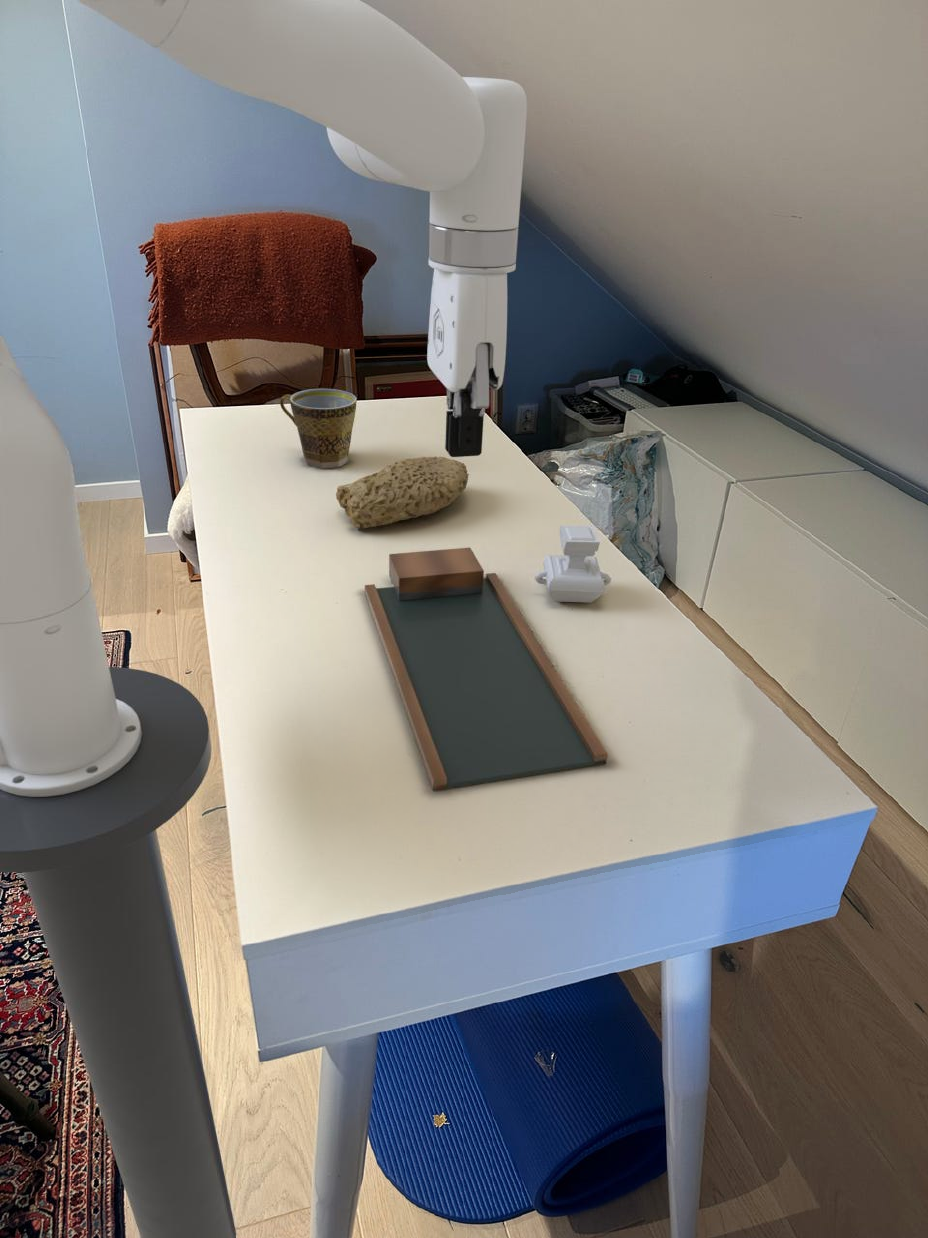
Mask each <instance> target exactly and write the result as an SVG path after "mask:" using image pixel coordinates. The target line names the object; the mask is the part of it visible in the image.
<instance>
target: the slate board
mask: <svg viewBox="0 0 928 1238" xmlns="http://www.w3.org/2000/svg"><path fill="white" fill-rule="evenodd" d="M376 587H377V586H376V585H375V583H373V584H365V585H364V596H365V599H366V601H367V604H368V608H369V610H370V613H371V616H372V619H373V621H374V625H375V627H376V630H377V633H378V637H379V640H380V642H381V645H382V648H383V650H384V653H385V656H386V659H387V663H388V665H389V667H390V671H391V673H392V676H393V679H394V682H395V685H396V688H397V691H398V693H399V697H400V699H401V702H402V706H403V708H404V711H405V714H406V716H407V720H408V722H409V725H410V728H411V731H412V734H413V737H414V740H415V743H416V746H417V748H418V752H419V755H420V757H421V760H422V763H423V766H424V769H425V771H426V772H425V773H426V775H427V777H428V781H429V783H430V786H431V789H432V791H433V792H434V791H435V792H436V791H442V790H448V789H454V788H460V787H467V786H473V785H478V784H479V785H480V784H485V783H492V782H499V781H504V780H511V779H519V778H524V777H530V776H537V775H543V774H549V773H557V772H562V771H569V770H575V769H582V768H589V767H592V766H593V767H595V766H600V765H606V764H607V760H608V751H606V749H605V747H604V745H603V744H602V742H601V741H600V739H599V737H598V735H597V734H596V733H595V731H594V729H593V728H592V726H591V725H590V723H589V721H588V719H587V717H586V716H585V715H584V713H583V711H582V710H581V709H580V707H579V705H578V704H577V702H576V701H575V699H574V697H573V696H572V694H571V692H570V691H569V689H568V688H567V685H565V682H564V681H563V680H562V678H561V676H560V675H559V673H558V671H557V670H556V668H555V667H554V665H553V663H552V661H551V660H550V658H549V656H548V655H547V653H546V652H545V651H544V649H543V647H542V645H541V644H540V643H539V641H538V639H537V638H536V636H535V634H534V633H533V631H532V630H531V628H530V626H529V625H528V623H527V622H526V620H525V618H524V617H523V615H522V614H521V612H520V610H519V609H518V607H517V606H516V604H515V602H514V601H513V599H512V597H511V595H510V594H509V593H508V591H507V589H506V588H505V586H504V584H503V582H502V581H501V580H500V578H499V576H498V574H497V573H496V572H491V573H485V577H483V591H482V593H474V594H464V595H454V596H443V597H433V598H423V599H412V600H402V601H399V599H398V597H397V594H396V592H395V589H394V587H393V586H389V587H379V588H376Z"/></svg>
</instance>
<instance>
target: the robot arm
mask: <svg viewBox="0 0 928 1238" xmlns="http://www.w3.org/2000/svg"><path fill="white" fill-rule="evenodd" d="M77 1H78V2H79V3H81V4H82V5H84V6H86V7H89V8H90V9H92V10H93V11H94V12H97V13H98V14H100V15H101V16H102V17H104V18H106V19H108V20H110V21H111V22H112V23H114V24H116V25H117V26H119V27H120V28H122V29H124V30H126V31H127V32H128V33H130V34H132V35H133V36H135V37H137V38H138V39H140V40H142V42H144V43H146V44H148V45H149V46H151V47H152V48H153V49H155V50H157V51H159V52H160V53H162V54H163V55H165V56H166V57H168V58H169V59H171V60H173V61H174V62H176V63H177V64H179V65H180V66H182V67H184V68H185V69H187V70H188V71H189V72H191V73H193V74H195V75H197V76H199V77H201V78H203V79H205V80H207V81H210V82H212V83H214V84H216V85H218V86H220V87H222V88H224V89H227V90H229V91H233V92H235V93H238V94H241V95H244V96H248V97H251V98H255V99H257V100H261V101H265V102H268V103H271V104H274V105H277V106H280V107H283V108H285V109H288V110H290V111H292V112H295V113H297V114H299V115H301V116H304V117H306V118H308V119H310V120H312V121H314V122H315V123H318V124H320V125H322V126H324V127H325V128H326V133H327V138H328V141H329V143H330V147H332V150H333V151H334V153H335V154H336V156H337V158H338V159H339V160H340V161H341V162H342V164H344V165H345V166H346V167H347V168H348V169H350V170H351V171H353V172H354V173H356V174H358V175H360V176H362V177H363V178H366V179H367V178H368V179H370V180H373V181H379V182H382V183H387V184H392V185H399V186H403V187H408V188H412V189H416V190H420V191H425V192H429V224H428V262H427V263H428V264H427V265H428V266H429V268H432V269H433V275H432V283H431V292H430V293H431V294H430V305H429V321H428V333H427V349H426V351H427V353H426V361H427V365H428V367H429V369H430V370H431V371H432V373H433V374H434V375H435V377H436V378H437V380H439V381H440V383H441V384H442V385H443V386H444V387H445V389H446V408H447V410H446V412H445V413H446V414H445V417H446V418H445V439H444V440H445V442H444V443H445V445H444V449H445V450H446V452H447V454H448V455H449V456H450V458H464V457H479V456H480V455H481V454H482V451H483V434H484V417H485V415H486V413H485V412H486V409H489V407H490V389H491V390H492V391H494V392H495V391H498V390H500V388H501V387H502V385H503V382H504V376H505V367H506V356H507V337H508V336H507V334H508V300H509V299H508V273H512V272H514V271H516V269H517V255H518V254H517V253H518V240H519V225H520V224H519V222H520V211H521V198H522V197H521V196H522V184H523V170H524V157H525V156H524V155H525V143H526V142H525V141H526V128H527V116H528V115H527V114H528V99H527V95H526V92H525V90H524V88H523V86H522V85H520V83H517V82H516V81H513V80H509V79H503V78H494V77H490V78H489V77H476V76H461V75H460V74H459V73H458V71H456V70H455V69H454V68H453V67H451V65H449V63H447V62H446V61H444V60H443V59H442V58H440V57H439V56H438V55H437V54H435V52H433V51H432V50H430V49H429V48H428V47H427V46H425V44H423V43H422V42H421V41H419V40H418V39H417V38H416V37H415V36H413V35H412V34H410V33H409V32H408V31H406V30H405V29H403V27H402V26H400V25H399V24H397V22H394V21H393V20H391V19H390V18H389V17H387V16H386V15H385V14H383V13H381V12H380V11H378V10H376V9H375V8H374V7H372V6H370V5H369V4H367V3H366V2H364V1H362V0H77ZM20 369H21V368H19V365H18V364H17V362H16V360H15V358H14V356H13V354H12V351H10V348H9V346H8V345H7V343H6V340H5V338H4V337H3V335H2V333H1V332H0V789H1V790H3V791H5V792H8V793H12V794H15V795H20V796H29V797H49V796H56V795H63V794H67V793H71V792H75V791H79V790H82V789H85V788H87V787H90V786H92V785H95V784H97V783H99V782H101V781H103V780H105V779H106V778H108V777H110V776H111V775H113V774H114V773H116V772H117V771H118V770H120V769H121V768H122V767H123V766H124V765H125V764H126V763H127V762H129V761H130V759H131V758H132V757H133V755H134V754H135V753H136V751H137V749H138V747H139V745H140V742H141V736H142V732H141V725H140V721H139V718H138V715H137V714H136V712H135V711H134V710H133V709H132V708H131V707H130V706H129V705H127V704H126V703H124V702H122V701H120V700H118V699H116V698H115V693H114V689H113V684H112V679H111V674H110V669H109V667H110V664H109V661H108V656H107V655H108V654H107V651H106V646H105V642H104V637H103V632H102V626H101V622H100V617H99V613H98V609H97V608H98V607H97V603H96V597H95V593H94V588H93V584H92V579H91V577H90V572H89V566H88V562H87V557H86V552H85V548H84V543H83V537H82V531H81V524H80V518H79V509H78V508H79V507H78V499H77V497H78V496H77V489H76V488H77V487H76V479H75V474H74V469H73V463H72V460H71V457H70V452H69V449H68V447H67V444H66V442H65V439H64V437H63V434H62V433H61V431H60V429H59V427H58V425H57V424H56V422H55V420H54V418H53V417H52V416H51V414H50V413H49V411H48V410H47V409H46V407H45V406H44V404H43V402H42V401H40V400H39V398H38V397H37V395H36V394H35V393H34V391H33V390H32V388H31V387H30V385H29V384H28V382H27V380H26V378H25V376H24V374H23V373H22V371H21V370H20Z"/></svg>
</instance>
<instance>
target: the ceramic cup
mask: <svg viewBox="0 0 928 1238" xmlns="http://www.w3.org/2000/svg"><path fill="white" fill-rule="evenodd" d="M285 399H286V400H288V401H289V404H290V409H291V412H290V411H288V409H287V408H286V406H285V403H284V401H285ZM357 402H358V401H357V397H356V395H354V394H353V393H351V392H348V391H345V390H341V389H335V388H313V389H312V388H309V389H304V390H301V391H300V390H299V391H298V392H295V393H293V394H284V395H282V396H281V398H280V400H279V406H280V408H281V410H282V411H283V412H284V414H285V415H286V416H287V417H288V418H289V419H290V420H291V421H292V422H293V424H294V426H295V427H296V428H297V429H296V430H297V434H298V436H299V440H300V446H301V451H302V454H303V459H304V461H305V463H306V464H307V466H309V467H313V468H317V469H321V470H322V469H323V470H324V469H335V468H341V467H342V466H343V465H345V464H348V461H349V455H350V448H351V441H352V434H353V433H352V432H353V426H354V424H355V417H356V411H357Z"/></svg>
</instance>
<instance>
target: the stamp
mask: <svg viewBox="0 0 928 1238" xmlns="http://www.w3.org/2000/svg"><path fill="white" fill-rule="evenodd" d="M558 535H559V540H560V544H561V548H562V553H563V555H560V554H559V555H558V554H548V555H546V556H545V558H544V560H543V562H542V564H543V571H539V572H538V573H537V574H536V575H535V576H534V577H535V578H534V581H536V582H537V583H538V584H540V585H544V586H546V587H547V591H548V593H549V594H550V595H551V597H552V599H553V600H554V602H563V603H564V602H566V603H567V602H570V603H593V602H594V601H595V600H596V599H598V598H600V597H602V595H603V594H605V593H606V586H608V585H610V584H611V581H612V578H611V577H610V574H608V573H606V572H602V571H601V569H600V565H599V562H598V561H599V560H598V558H597V557H596V556H595V555H596V552H598V551H599V547H600V543H601V542H600V539H599V537H598V535H597V532H596V530H595V528H594V525H559V533H558Z"/></svg>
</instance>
